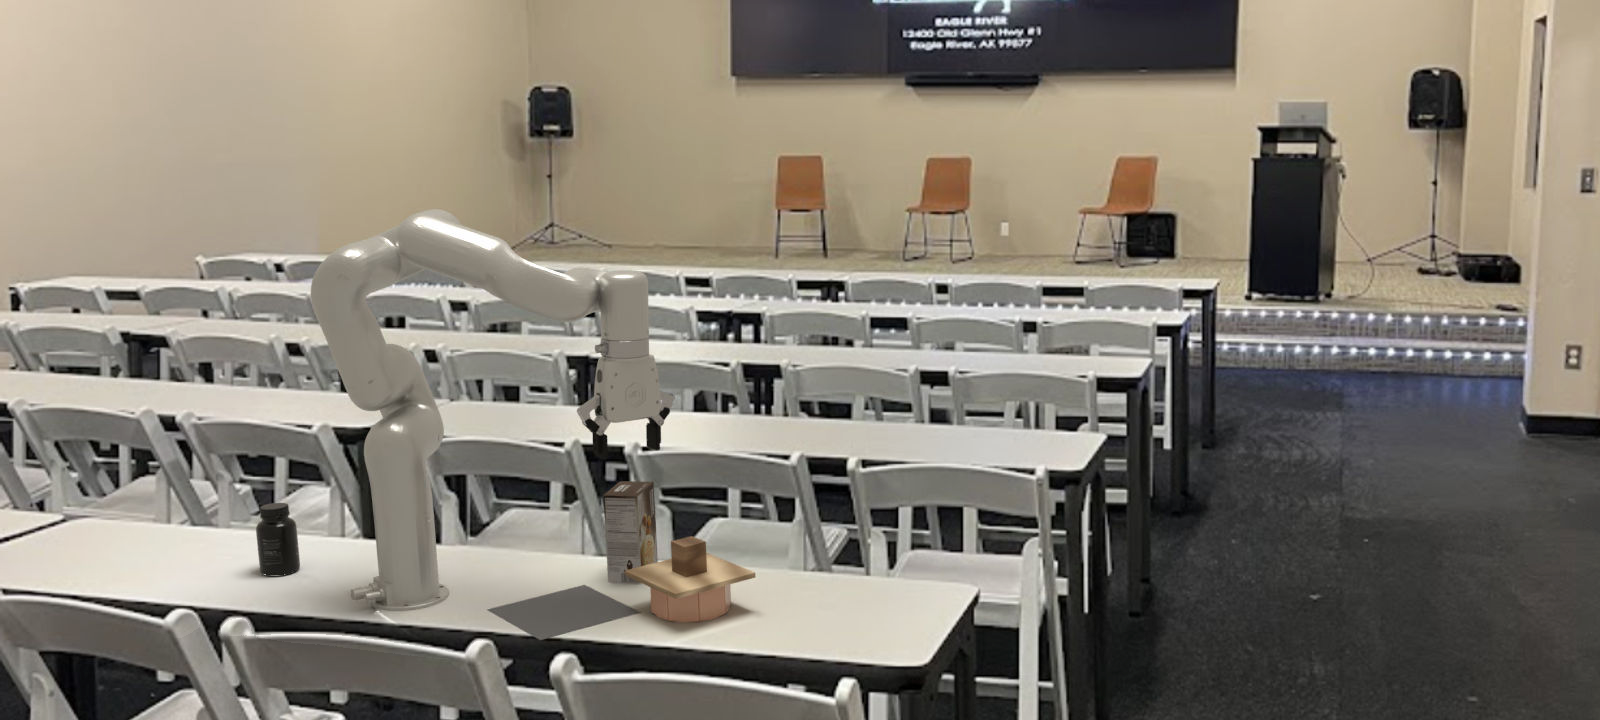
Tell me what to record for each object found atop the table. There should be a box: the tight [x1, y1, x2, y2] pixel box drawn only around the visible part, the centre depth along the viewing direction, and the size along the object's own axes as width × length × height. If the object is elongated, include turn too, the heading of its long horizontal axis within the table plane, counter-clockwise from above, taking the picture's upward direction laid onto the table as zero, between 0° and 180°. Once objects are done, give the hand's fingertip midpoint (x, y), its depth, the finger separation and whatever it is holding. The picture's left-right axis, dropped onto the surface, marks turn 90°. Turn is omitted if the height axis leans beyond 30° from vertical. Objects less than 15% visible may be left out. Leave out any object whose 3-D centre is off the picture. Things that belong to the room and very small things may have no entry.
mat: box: [486, 584, 642, 641], centre depth 246 cm, size 18×18×1 cm
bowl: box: [649, 584, 732, 623], centre depth 245 cm, size 12×12×6 cm
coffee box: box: [602, 480, 659, 585], centre depth 261 cm, size 9×6×16 cm
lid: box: [625, 535, 756, 599], centre depth 244 cm, size 15×15×6 cm
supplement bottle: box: [255, 502, 301, 576], centre depth 271 cm, size 7×7×12 cm
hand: (627, 453), depth 247 cm, fingers open, 9 cm apart
